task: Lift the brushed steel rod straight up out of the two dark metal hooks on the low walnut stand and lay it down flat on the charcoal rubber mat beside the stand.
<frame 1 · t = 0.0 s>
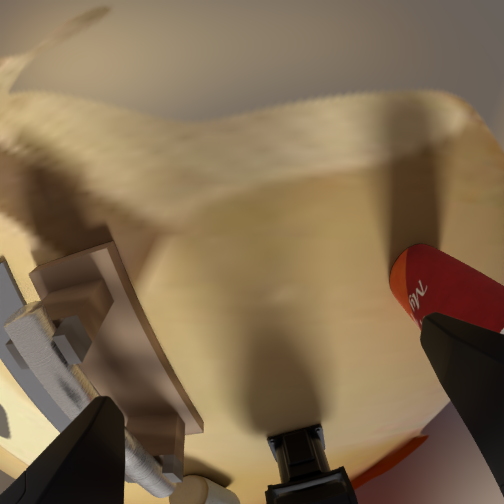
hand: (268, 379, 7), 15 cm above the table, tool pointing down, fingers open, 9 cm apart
steel rod: (106, 412, 18), point 6 cm above the table, touching hook stand
ceramic mug: (197, 483, 35), on the table
hook stand: (124, 359, 24), on the table
paper cup: (413, 272, 24), on the table
rubber mat: (36, 370, 24), on the table
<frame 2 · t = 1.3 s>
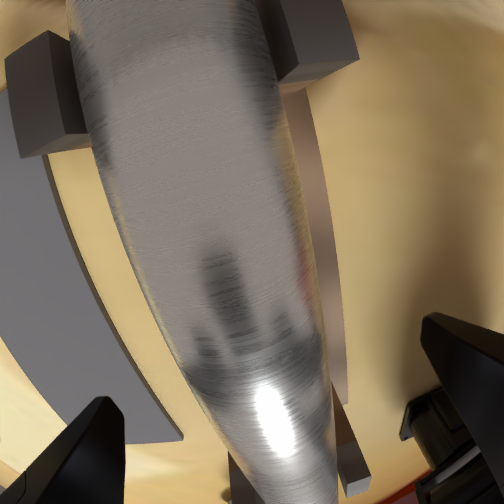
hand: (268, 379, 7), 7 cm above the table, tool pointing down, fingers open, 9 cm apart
steel rod: (260, 357, 8), point 6 cm above the table, touching hook stand
hook stand: (242, 263, 14), on the table
rubber mat: (41, 314, 14), on the table
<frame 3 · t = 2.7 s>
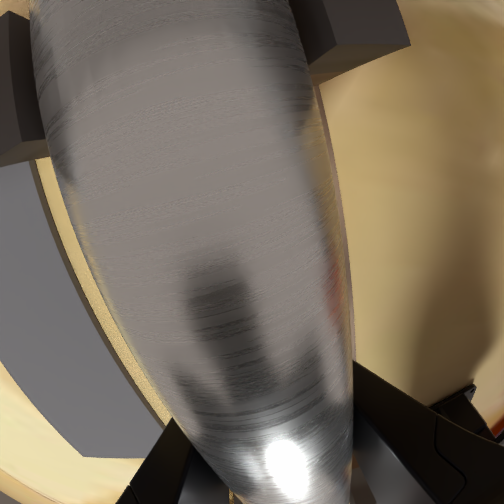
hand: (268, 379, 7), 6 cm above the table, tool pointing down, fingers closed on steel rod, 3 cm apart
steel rod: (270, 393, 7), point 6 cm above the table, touching gripper, hook stand
hook stand: (247, 277, 13), on the table
rubber mat: (33, 327, 13), on the table
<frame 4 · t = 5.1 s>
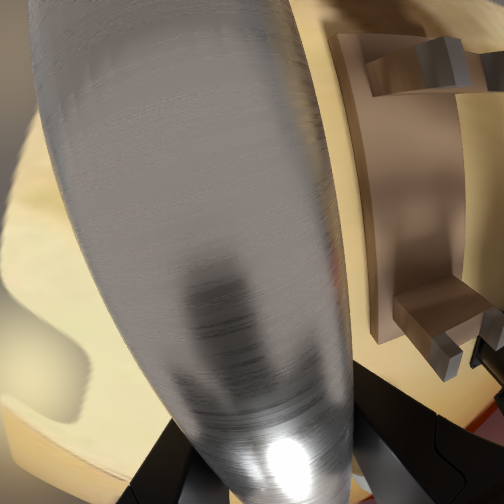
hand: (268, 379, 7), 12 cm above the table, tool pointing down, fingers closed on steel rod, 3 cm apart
steel rod: (270, 392, 7), point 12 cm above the table, touching gripper
hook stand: (411, 192, 18), on the table
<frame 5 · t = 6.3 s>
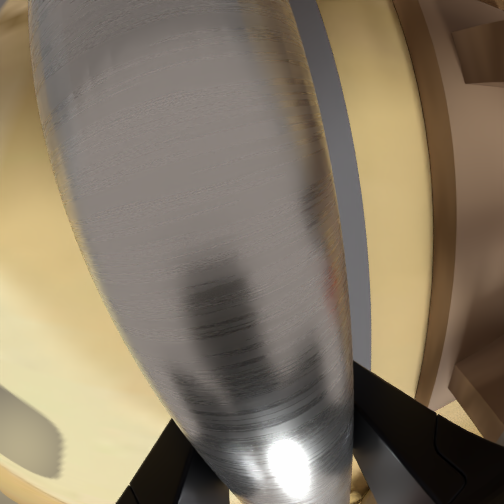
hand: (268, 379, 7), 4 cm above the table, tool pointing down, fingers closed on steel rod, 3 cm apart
steel rod: (270, 392, 7), point 5 cm above the table, touching gripper
hook stand: (490, 225, 11), on the table
rubber mat: (248, 300, 11), on the table
when the fingers open (1 cm above the table, at t = 7.5 s): steel rod drops 1 cm, resting on rubber mat.
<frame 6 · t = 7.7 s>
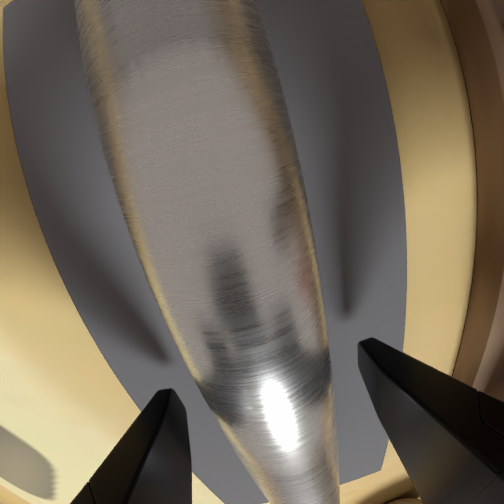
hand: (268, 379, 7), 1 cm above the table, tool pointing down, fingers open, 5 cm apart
steel rod: (263, 354, 8), resting on rubber mat
rubber mat: (259, 344, 9), on the table
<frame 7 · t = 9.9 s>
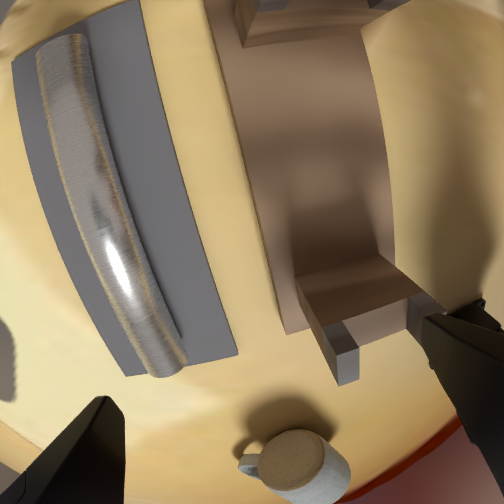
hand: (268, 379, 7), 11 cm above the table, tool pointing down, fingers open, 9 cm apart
steel rod: (111, 210, 16), resting on rubber mat
ceramic mug: (285, 446, 28), on the table
hook stand: (313, 154, 17), on the table
rubber mat: (113, 208, 16), on the table
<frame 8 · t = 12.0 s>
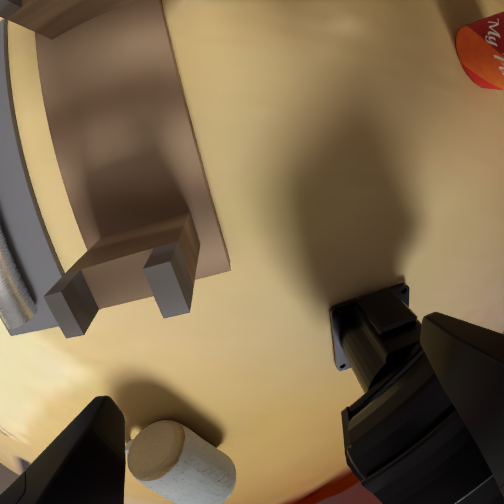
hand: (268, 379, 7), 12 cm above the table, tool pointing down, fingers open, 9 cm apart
ceramic mug: (173, 439, 26), on the table
hook stand: (118, 115, 15), on the table
paper cup: (476, 57, 15), on the table
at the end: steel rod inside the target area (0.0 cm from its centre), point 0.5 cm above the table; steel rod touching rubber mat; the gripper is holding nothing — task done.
